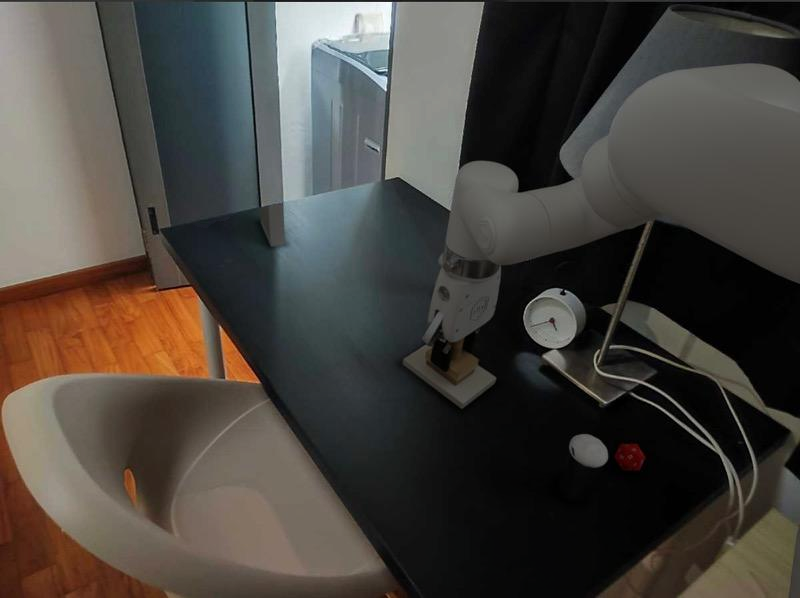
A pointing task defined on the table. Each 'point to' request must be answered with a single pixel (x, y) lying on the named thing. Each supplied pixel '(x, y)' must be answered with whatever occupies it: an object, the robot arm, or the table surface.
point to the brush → (456, 363)
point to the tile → (456, 394)
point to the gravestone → (273, 223)
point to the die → (629, 457)
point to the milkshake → (581, 465)
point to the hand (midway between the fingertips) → (451, 357)
